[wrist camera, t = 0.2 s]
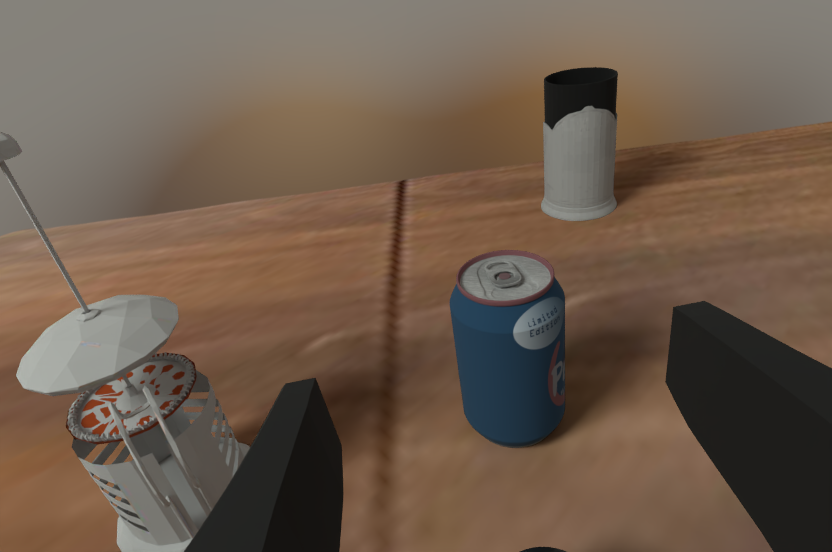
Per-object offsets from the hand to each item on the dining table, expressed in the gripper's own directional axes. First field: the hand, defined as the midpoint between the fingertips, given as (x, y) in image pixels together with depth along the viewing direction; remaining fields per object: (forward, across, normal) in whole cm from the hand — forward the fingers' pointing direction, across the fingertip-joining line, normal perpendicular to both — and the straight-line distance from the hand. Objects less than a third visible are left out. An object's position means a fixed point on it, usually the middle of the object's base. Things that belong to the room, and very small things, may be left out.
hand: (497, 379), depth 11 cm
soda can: (+18, -3, +22) cm, 29 cm away
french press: (+15, +19, +21) cm, 32 cm away
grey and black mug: (+52, -19, +24) cm, 60 cm away
